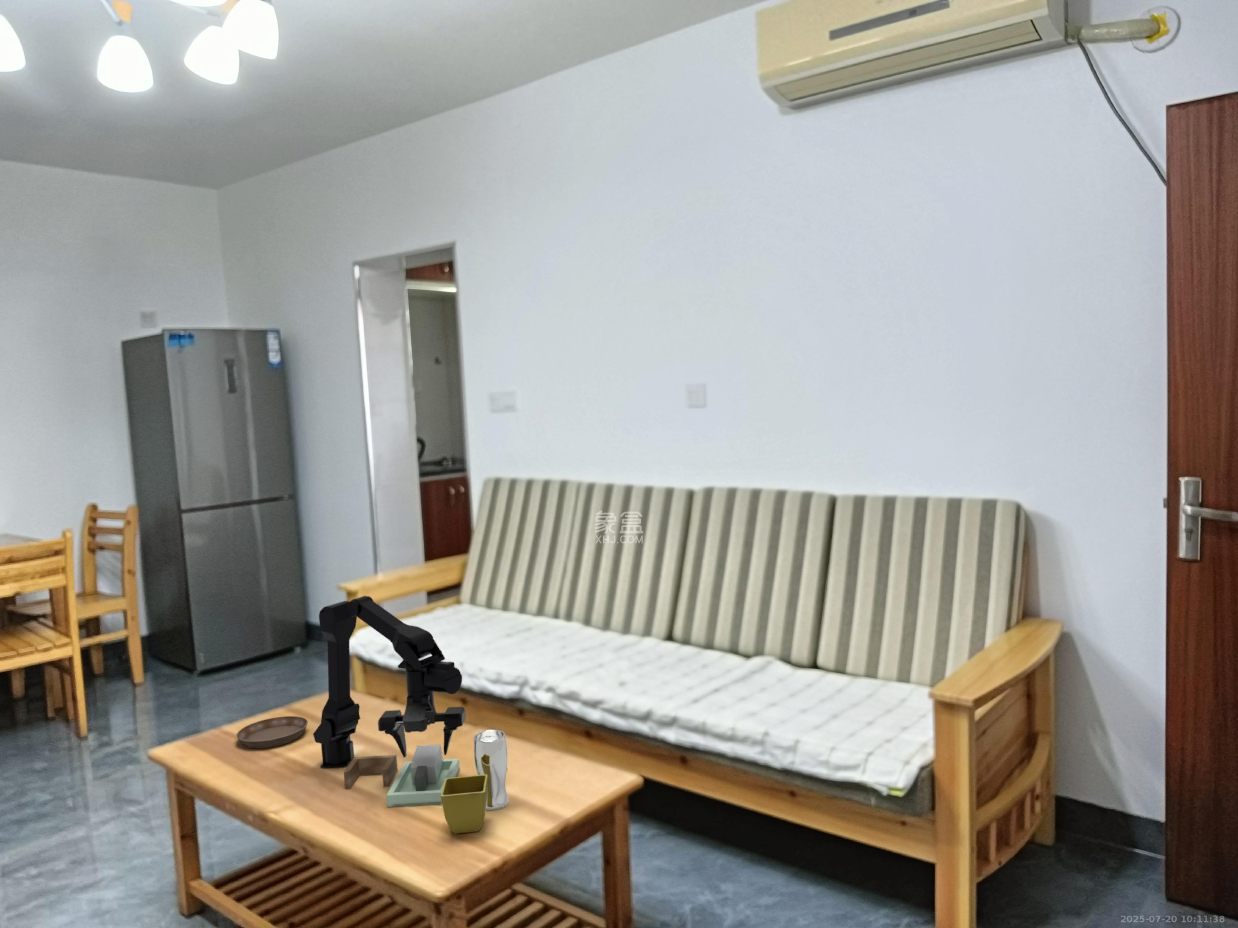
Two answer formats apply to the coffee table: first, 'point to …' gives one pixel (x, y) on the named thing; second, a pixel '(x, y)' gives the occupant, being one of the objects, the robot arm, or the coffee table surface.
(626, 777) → the coffee table surface
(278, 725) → the plant saucer
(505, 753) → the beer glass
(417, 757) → the grey stepped block
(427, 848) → the coffee table surface
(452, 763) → the tray
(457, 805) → the flower pot
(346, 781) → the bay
